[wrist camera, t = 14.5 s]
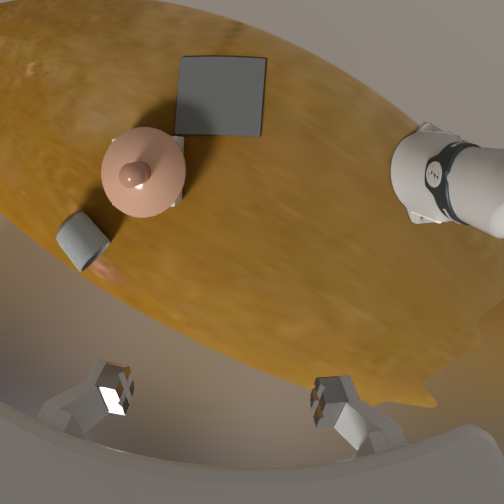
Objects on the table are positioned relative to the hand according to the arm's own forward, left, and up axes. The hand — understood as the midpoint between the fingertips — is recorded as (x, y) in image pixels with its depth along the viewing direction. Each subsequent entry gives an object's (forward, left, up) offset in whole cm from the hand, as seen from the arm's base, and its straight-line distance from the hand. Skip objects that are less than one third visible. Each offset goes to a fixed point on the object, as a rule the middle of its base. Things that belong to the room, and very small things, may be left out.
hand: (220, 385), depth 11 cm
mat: (+4, -18, -35) cm, 40 cm away
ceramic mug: (+27, +7, -35) cm, 45 cm away
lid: (+14, -6, -30) cm, 34 cm away
